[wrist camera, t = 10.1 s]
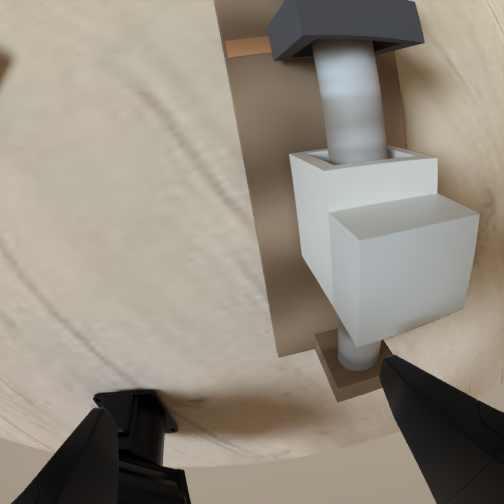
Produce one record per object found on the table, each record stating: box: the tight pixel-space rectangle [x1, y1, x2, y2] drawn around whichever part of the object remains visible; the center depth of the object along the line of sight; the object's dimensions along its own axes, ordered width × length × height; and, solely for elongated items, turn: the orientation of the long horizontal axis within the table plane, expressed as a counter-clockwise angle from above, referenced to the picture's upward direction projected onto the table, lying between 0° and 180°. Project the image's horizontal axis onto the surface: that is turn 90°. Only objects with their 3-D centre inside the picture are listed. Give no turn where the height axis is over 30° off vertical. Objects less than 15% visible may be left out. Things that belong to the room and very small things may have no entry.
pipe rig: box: [214, 0, 406, 402], centre depth 15 cm, size 25×10×6 cm, turn 10°
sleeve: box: [289, 145, 480, 348], centre depth 13 cm, size 6×5×8 cm
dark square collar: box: [267, 0, 425, 61], centre depth 11 cm, size 2×5×5 cm, turn 100°
